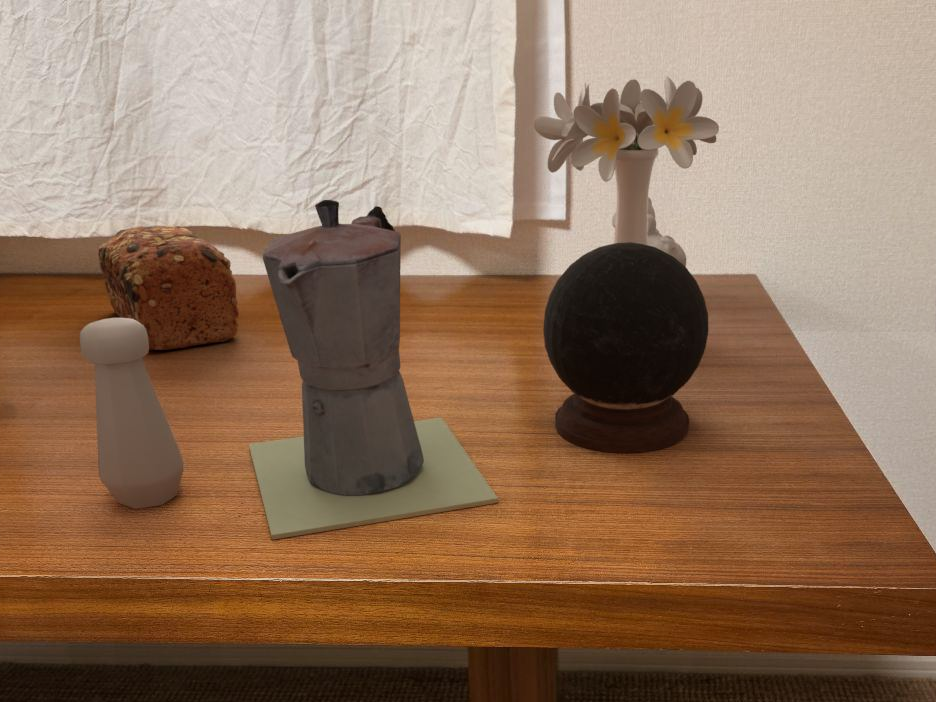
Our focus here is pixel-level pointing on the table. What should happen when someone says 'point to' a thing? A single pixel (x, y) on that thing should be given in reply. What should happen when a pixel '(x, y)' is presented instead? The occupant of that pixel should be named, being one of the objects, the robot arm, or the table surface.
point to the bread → (170, 285)
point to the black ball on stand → (625, 347)
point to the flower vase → (628, 141)
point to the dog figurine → (660, 237)
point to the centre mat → (313, 510)
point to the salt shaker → (130, 417)
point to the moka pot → (347, 350)
